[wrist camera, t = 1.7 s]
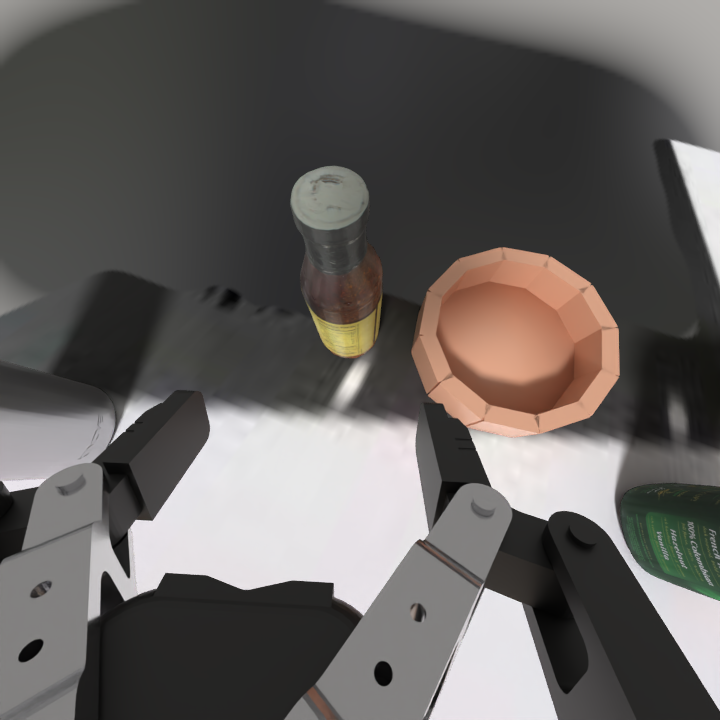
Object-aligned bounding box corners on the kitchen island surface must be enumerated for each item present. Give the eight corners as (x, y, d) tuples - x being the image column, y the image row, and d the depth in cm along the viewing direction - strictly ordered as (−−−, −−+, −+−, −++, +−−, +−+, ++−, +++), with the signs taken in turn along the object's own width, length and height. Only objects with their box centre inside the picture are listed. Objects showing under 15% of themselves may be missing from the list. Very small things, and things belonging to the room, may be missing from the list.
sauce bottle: (343, 299, 36) (323, 122, 17) (388, 328, 35) (421, 172, 16) (308, 343, 35) (243, 202, 16) (355, 375, 33) (347, 263, 14)
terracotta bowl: (399, 412, 32) (406, 403, 27) (427, 263, 38) (437, 235, 33) (581, 453, 31) (620, 451, 26) (583, 293, 36) (617, 268, 31)
